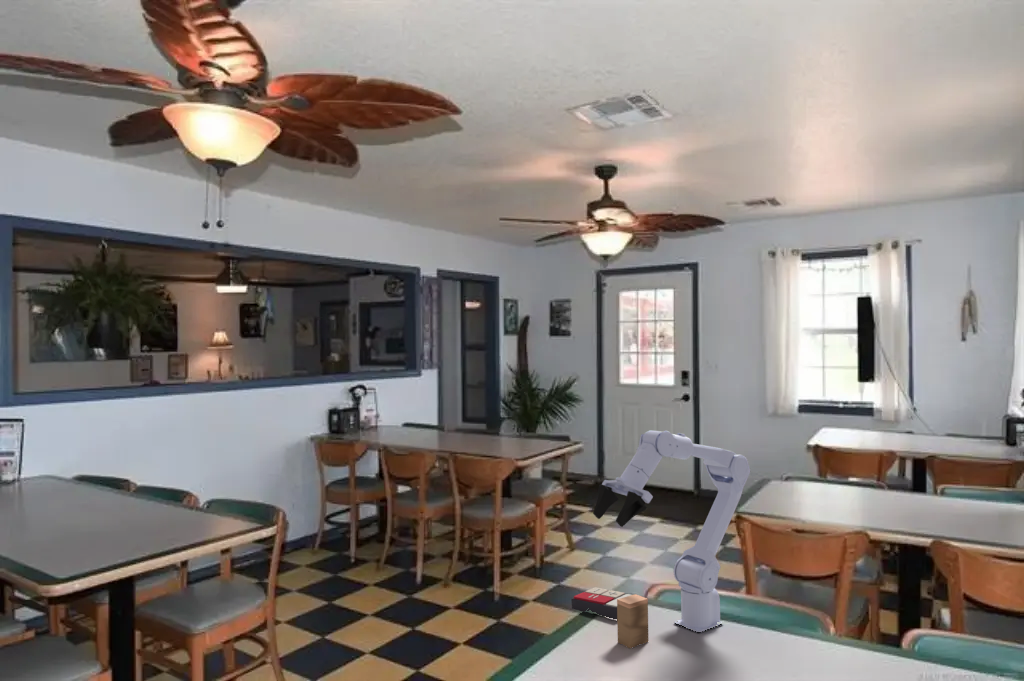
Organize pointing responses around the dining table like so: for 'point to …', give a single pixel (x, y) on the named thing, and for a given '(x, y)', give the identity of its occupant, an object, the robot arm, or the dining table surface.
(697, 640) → the dining table surface
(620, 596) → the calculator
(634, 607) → the walnut block
